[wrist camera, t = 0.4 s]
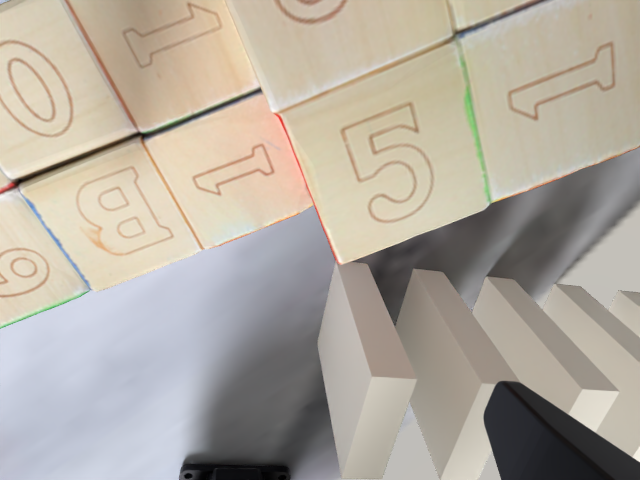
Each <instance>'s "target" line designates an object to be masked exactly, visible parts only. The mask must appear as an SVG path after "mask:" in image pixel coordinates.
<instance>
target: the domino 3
mask: <svg viewBox="0 0 640 480" xmlns="http://www.w3.org/2000/svg"><path fill="white" fill-rule="evenodd" d="M472 314H473V315H474V317H475V318H476V320H477V321H478V322H479V324H480V325H481V327H482V328H483V330H484V331H485V332H486V334H487V335H488V337H489V338H490V340H491V341H492V342H493V344H494V345H495V347H496V348H497V349H498V351H499V352H500V354H501V355H502V357H503V358H504V359H505V361H506V362H507V364H508V365H509V367H510V368H511V369H512V371H513V372H514V374H515V375H516V376H517V378H518V379H519V381H520V382H521V383H522V384H523V385H525V386H526V387H528V388H529V389H531V390H532V391H534V392H535V393H537V394H538V395H540V396H541V397H543V398H544V399H546V400H547V401H549V402H550V403H552V404H553V405H555V406H556V407H558V408H559V409H561V410H562V411H564V412H565V413H567V414H568V415H570V416H571V417H573V418H574V419H576V420H577V421H579V422H580V423H582V424H583V425H585V426H586V427H588V428H589V429H591V430H592V431H594V432H596V431H597V429H598V427H599V426H600V424H601V422H602V421H603V419H604V417H605V416H606V414H607V412H608V411H609V409H610V407H611V406H612V404H613V402H614V401H615V399H616V397H617V396H618V394H619V392H620V391H619V390H618V389H617V388H616V387H615V386H614V385H613V384H612V383H611V382H610V381H609V379H608V378H607V377H606V376H605V375H604V374H603V373H602V372H601V371H600V370H599V369H598V368H597V367H596V366H595V365H594V364H593V363H592V362H591V360H590V359H589V358H588V357H587V356H586V355H585V354H584V353H583V352H582V351H581V350H580V349H579V348H578V347H577V346H576V345H575V344H574V342H573V341H572V340H571V339H570V338H569V337H568V336H567V335H566V334H565V333H564V332H563V331H562V330H561V329H560V328H559V327H558V326H557V325H556V323H555V322H554V321H553V320H552V319H551V318H550V317H549V316H548V315H547V314H546V313H545V312H544V311H543V310H542V309H541V308H540V307H539V306H538V304H537V303H536V302H535V301H534V300H533V299H532V298H531V297H530V296H529V295H528V294H527V293H526V292H525V291H524V290H523V289H522V288H521V286H520V285H519V284H518V283H517V282H516V281H515V280H514V279H506V278H497V277H487V276H486V277H485V280H484V283H483V285H482V288H481V290H480V293H479V295H478V298H477V301H476V303H475V306H474V308H473V311H472Z"/></svg>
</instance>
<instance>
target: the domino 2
mask: <svg viewBox="0 0 640 480" xmlns="http://www.w3.org/2000/svg"><path fill="white" fill-rule="evenodd" d="M395 329H396V331H397V334H398V336H399V338H400V341H401V343H402V345H403V347H404V350H405V352H406V354H407V357H408V359H409V361H410V364H411V366H412V368H413V371H414V373H415V375H416V378H417V381H416V384H415V387H414V390H413V393H412V396H411V398H410V404H411V407H412V409H413V412H414V414H415V417H416V419H417V422H418V425H419V427H420V429H421V432H422V435H423V438H424V440H425V443H426V445H427V448H428V451H429V453H430V456H431V458H432V461H433V463H434V466H435V469H436V471H437V474H438V476H439V479H440V480H478V478H479V476H480V474H481V472H482V470H483V468H484V466H485V464H486V462H487V460H488V457H489V456H490V453H491V451H492V448H491V445H490V442H489V438H488V435H487V432H486V429H485V426H484V420H483V416H484V411H485V408H486V406H487V403H488V401H489V399H490V396H491V394H492V392H493V389H494V387H495V385H496V384H497V383H498V382H499V381H516V382H520V381H519V379H518V378H517V376H516V375H515V374H514V372H513V371H512V369H511V368H510V367H509V365H508V364H507V362H506V361H505V359H504V358H503V357H502V355H501V354H500V352H499V351H498V349H497V348H496V347H495V345H494V344H493V342H492V341H491V340H490V338H489V337H488V335H487V334H486V332H485V331H484V330H483V328H482V327H481V325H480V324H479V322H478V321H477V320H476V318H475V317H474V315H473V314H472V313H471V311H470V310H469V308H468V307H467V305H466V304H465V303H464V301H463V300H462V298H461V297H460V295H459V294H458V293H457V291H456V290H455V288H454V287H453V285H452V284H451V283H450V281H449V280H448V278H447V277H446V276H445V274H444V273H443V272H440V271H431V270H422V269H413V271H412V274H411V277H410V281H409V284H408V287H407V290H406V294H405V297H404V300H403V303H402V307H401V310H400V313H399V316H398V320H397V323H396V326H395ZM520 383H521V382H520Z"/></svg>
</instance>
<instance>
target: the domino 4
mask: <svg viewBox="0 0 640 480" xmlns="http://www.w3.org/2000/svg"><path fill="white" fill-rule="evenodd" d="M542 310H543V311H544V312H545V313H546V314H547V315H548V316H549V317H550V318H551V319H552V320H553V321H554V322H555V323H556V325H557V326H558V327H559V328H560V329H561V330H562V331H563V332H564V333H565V334H566V335H567V336H568V337H569V338H570V339H571V340H572V341H573V342H574V344H575V345H576V346H577V347H578V348H579V349H580V350H581V351H582V352H583V353H584V354H585V355H586V356H587V357H588V358H589V359H590V360H591V362H592V363H593V364H594V365H595V366H596V367H597V368H598V369H599V370H600V371H601V372H602V373H603V374H604V375H605V376H606V377H607V378H608V379H609V381H610V382H611V383H612V384H613V385H614V386H615V387H616V388H617V389H618V390H619V391H620V392H619V394H618V396H617V397H616V399H615V401H614V402H613V404H612V406H611V407H610V409H609V411H608V412H607V414H606V416H605V417H604V419H603V421H602V422H601V424H600V426H599V427H598V429H597V431H596V432H595V433H597V434H598V435H600V436H601V437H603V438H604V439H606V440H607V441H609V442H610V443H612V444H613V445H615V446H616V447H618V448H619V449H621V450H622V451H624V452H625V453H627V454H628V455H630V456H631V457H633V458H634V459H636V460H637V461H639V462H640V337H639V336H637V335H636V334H635V333H634V332H633V331H632V330H630V329H629V328H628V327H627V326H626V325H625V324H623V323H622V322H621V321H620V320H619V319H618V318H616V317H615V316H614V315H613V314H612V313H611V312H609V311H608V310H607V309H606V308H605V307H604V306H603V305H601V304H600V303H599V302H598V301H597V300H596V299H594V298H593V297H592V296H591V295H590V294H589V293H587V292H586V291H585V290H584V289H583V288H582V287H580V286H571V285H562V284H554V285H553V287H552V289H551V292H550V294H549V296H548V298H547V300H546V303H545V305H544V307H543V309H542Z"/></svg>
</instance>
